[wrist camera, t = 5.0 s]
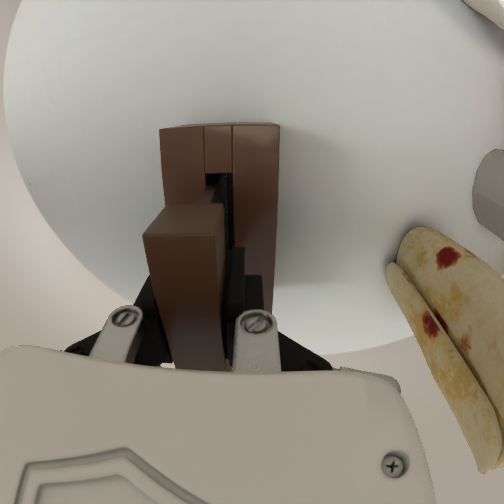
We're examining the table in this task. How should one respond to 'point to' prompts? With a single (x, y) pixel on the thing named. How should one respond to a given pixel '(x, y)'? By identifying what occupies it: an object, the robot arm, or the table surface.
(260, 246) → the knife block
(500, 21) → the bowl
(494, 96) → the table surface
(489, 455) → the food model
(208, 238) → the knife
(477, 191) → the cup
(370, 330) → the table surface
